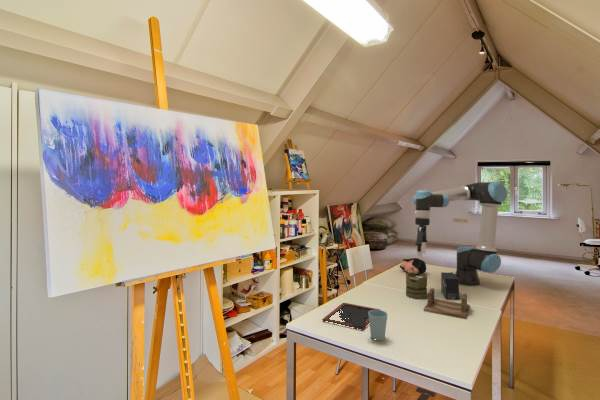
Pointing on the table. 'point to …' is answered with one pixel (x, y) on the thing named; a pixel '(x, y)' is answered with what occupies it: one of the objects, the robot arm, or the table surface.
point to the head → (413, 266)
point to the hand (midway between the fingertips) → (421, 255)
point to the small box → (450, 286)
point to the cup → (377, 324)
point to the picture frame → (351, 315)
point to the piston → (416, 286)
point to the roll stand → (447, 306)
